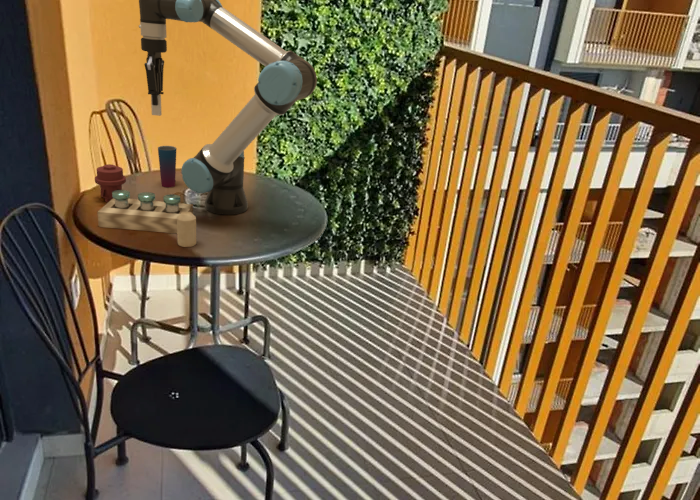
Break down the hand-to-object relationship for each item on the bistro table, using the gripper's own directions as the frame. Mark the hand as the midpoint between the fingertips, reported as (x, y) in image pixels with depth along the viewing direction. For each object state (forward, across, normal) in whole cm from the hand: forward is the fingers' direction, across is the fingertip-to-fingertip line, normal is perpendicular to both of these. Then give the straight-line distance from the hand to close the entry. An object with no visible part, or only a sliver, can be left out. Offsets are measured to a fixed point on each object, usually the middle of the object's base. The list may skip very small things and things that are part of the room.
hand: (156, 114), depth 176 cm
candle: (+33, +28, +16) cm, 46 cm away
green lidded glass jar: (+31, +14, 0) cm, 34 cm away
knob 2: (+31, +14, +8) cm, 35 cm away
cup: (+33, -25, -4) cm, 41 cm away
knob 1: (+31, +14, -8) cm, 35 cm away
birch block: (+32, +14, 0) cm, 35 cm away
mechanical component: (+33, -4, -18) cm, 37 cm away
